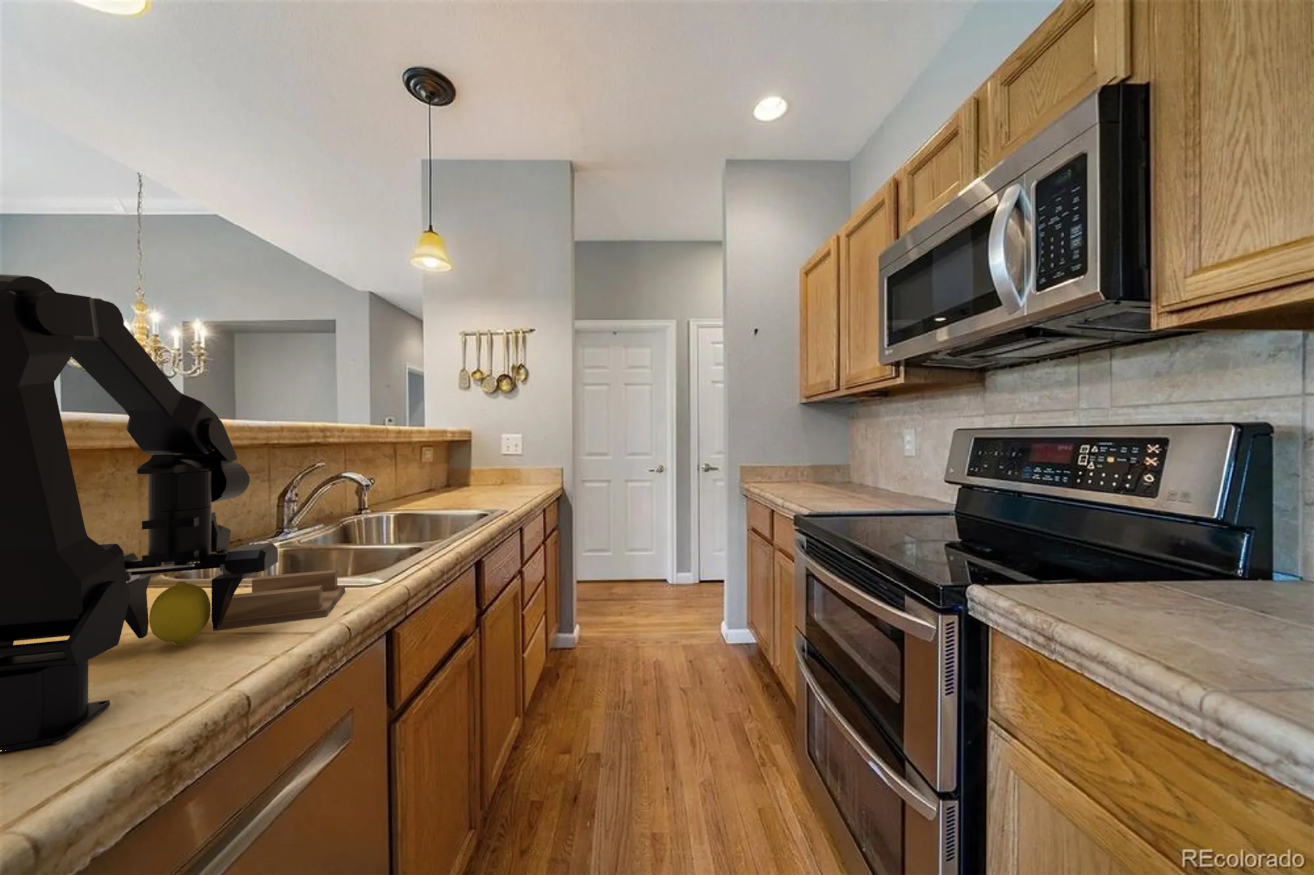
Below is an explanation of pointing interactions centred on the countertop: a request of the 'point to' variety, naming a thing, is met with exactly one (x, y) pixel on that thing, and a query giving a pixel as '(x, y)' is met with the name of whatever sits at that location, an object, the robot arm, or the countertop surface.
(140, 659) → the countertop surface
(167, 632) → the lemon
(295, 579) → the cradle
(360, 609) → the countertop surface
